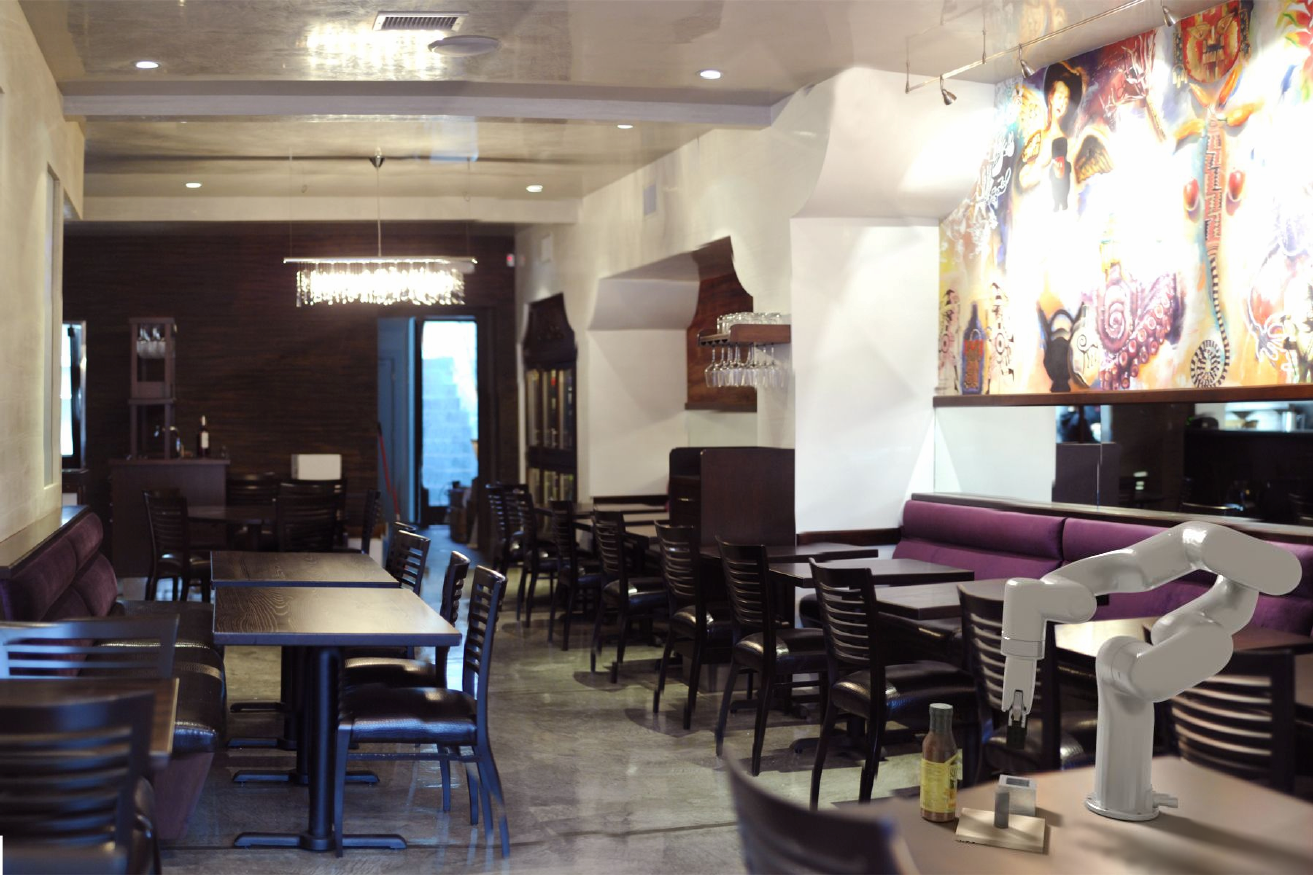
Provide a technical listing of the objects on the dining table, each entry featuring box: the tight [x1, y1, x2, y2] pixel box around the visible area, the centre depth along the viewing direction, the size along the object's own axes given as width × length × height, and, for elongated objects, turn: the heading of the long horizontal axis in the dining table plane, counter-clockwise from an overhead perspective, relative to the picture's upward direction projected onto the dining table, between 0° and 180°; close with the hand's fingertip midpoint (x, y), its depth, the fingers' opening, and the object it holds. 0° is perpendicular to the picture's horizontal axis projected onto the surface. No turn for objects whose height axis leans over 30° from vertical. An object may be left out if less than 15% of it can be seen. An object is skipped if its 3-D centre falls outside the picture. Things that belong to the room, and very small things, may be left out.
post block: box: [954, 789, 1046, 854], centre depth 206 cm, size 14×14×7 cm
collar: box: [997, 774, 1038, 818], centre depth 218 cm, size 6×6×5 cm
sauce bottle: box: [919, 702, 959, 823], centre depth 213 cm, size 6×6×20 cm
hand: (1016, 741), depth 218 cm, fingers open, 9 cm apart
